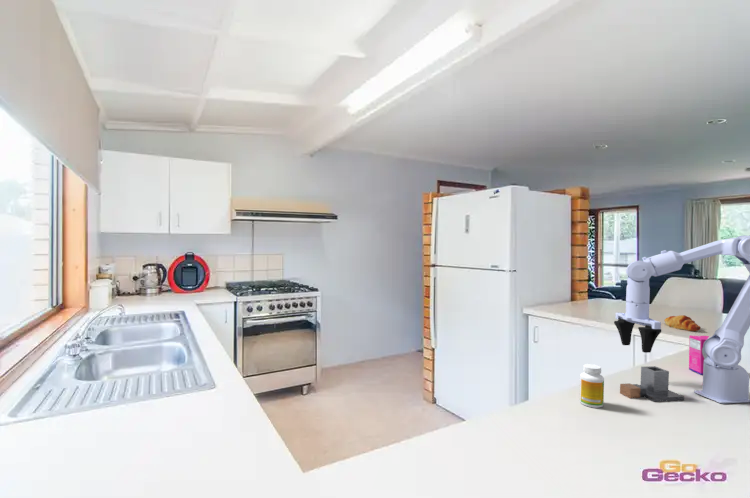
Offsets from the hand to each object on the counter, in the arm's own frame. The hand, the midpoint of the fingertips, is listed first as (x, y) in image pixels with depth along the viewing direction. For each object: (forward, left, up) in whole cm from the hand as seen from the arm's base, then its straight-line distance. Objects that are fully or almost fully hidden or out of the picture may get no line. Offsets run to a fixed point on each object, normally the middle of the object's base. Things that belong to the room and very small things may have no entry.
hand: (635, 348), depth 118 cm
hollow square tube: (+1, +8, -9) cm, 12 cm away
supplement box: (-31, -7, -11) cm, 34 cm away
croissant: (-86, -68, -11) cm, 111 cm away
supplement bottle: (+23, +12, -11) cm, 28 cm away
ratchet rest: (+3, +8, -10) cm, 14 cm away
